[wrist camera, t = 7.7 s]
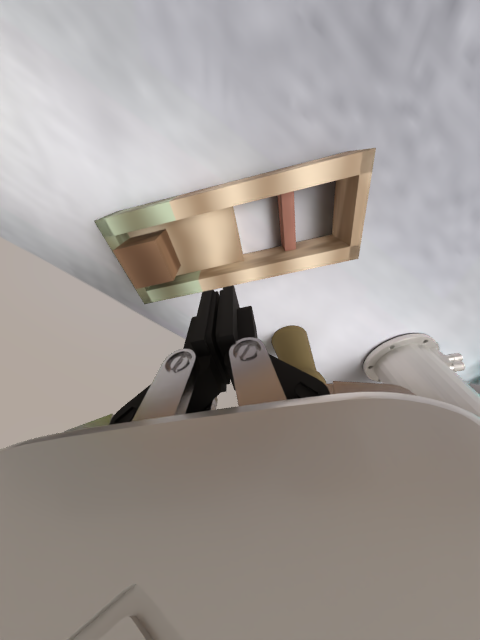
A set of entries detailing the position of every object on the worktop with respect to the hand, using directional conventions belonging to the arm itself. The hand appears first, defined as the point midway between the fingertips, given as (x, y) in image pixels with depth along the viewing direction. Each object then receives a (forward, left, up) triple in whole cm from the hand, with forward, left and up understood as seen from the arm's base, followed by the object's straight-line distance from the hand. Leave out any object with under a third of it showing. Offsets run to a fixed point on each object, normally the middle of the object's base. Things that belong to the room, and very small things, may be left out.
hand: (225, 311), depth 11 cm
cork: (-6, +19, -16) cm, 25 cm away
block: (+8, 0, -13) cm, 16 cm away
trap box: (-1, 0, -15) cm, 15 cm away
